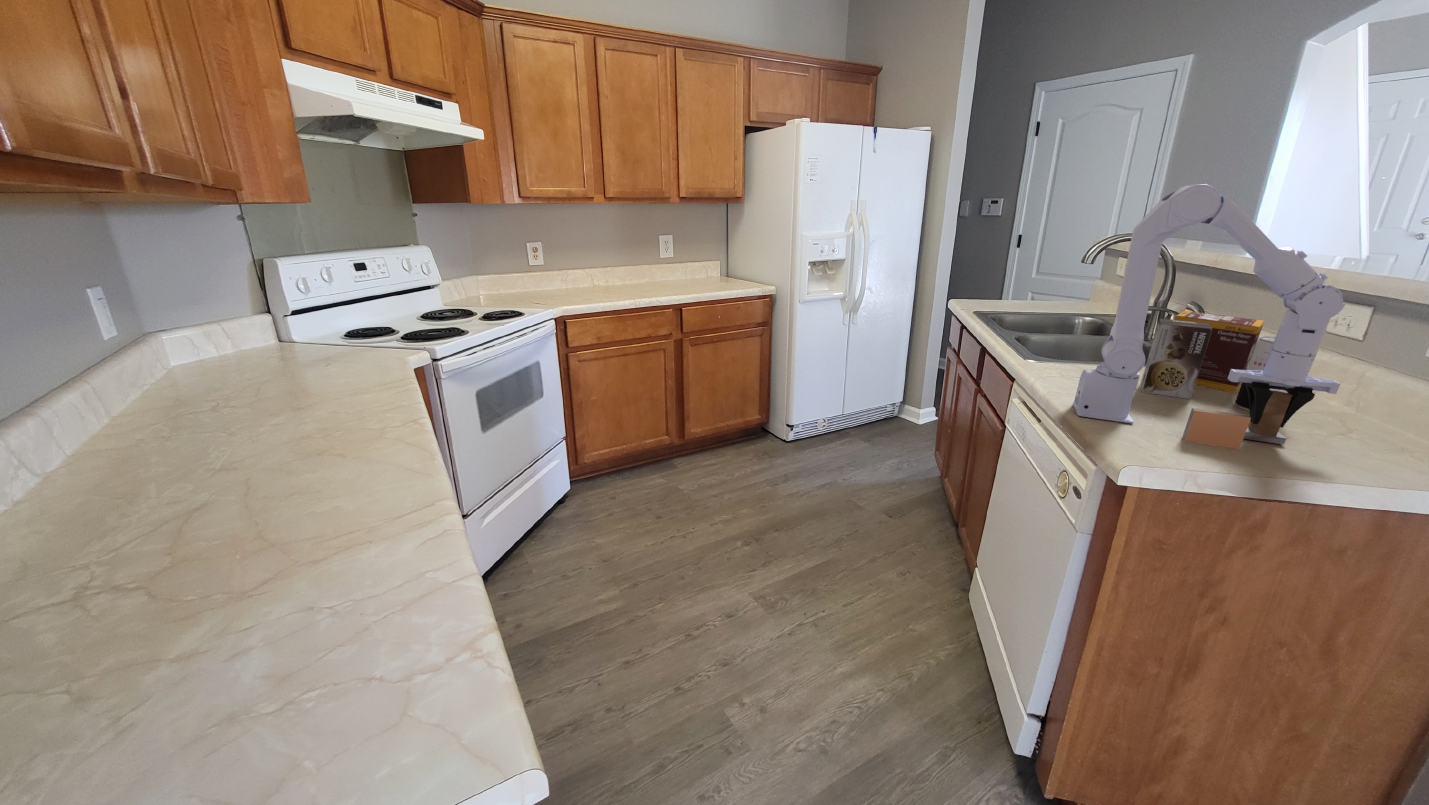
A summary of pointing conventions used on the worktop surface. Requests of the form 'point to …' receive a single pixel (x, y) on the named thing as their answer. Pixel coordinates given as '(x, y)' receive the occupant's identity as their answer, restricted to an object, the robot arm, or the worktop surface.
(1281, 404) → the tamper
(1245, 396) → the beverage can
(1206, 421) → the tile
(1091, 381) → the robot arm
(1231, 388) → the supplement box
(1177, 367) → the coffee box
